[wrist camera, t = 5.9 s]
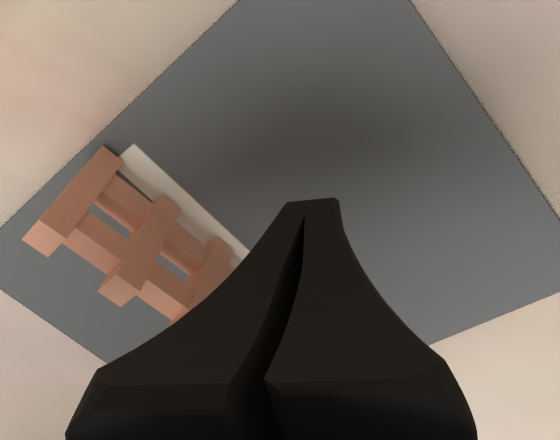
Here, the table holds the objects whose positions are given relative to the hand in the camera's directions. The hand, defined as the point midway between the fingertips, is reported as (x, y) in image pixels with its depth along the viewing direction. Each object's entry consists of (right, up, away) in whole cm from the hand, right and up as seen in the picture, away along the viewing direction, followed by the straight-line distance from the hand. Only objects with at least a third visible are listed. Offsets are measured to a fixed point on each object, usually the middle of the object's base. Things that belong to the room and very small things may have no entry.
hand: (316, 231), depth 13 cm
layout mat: (-2, -1, +6) cm, 6 cm away
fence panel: (-4, 0, +5) cm, 6 cm away
